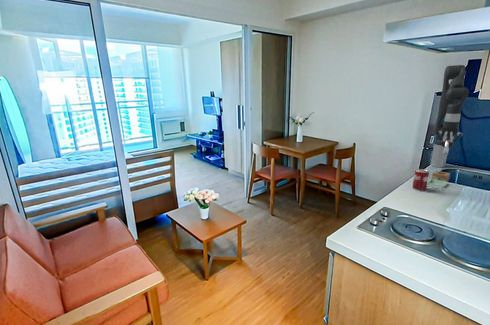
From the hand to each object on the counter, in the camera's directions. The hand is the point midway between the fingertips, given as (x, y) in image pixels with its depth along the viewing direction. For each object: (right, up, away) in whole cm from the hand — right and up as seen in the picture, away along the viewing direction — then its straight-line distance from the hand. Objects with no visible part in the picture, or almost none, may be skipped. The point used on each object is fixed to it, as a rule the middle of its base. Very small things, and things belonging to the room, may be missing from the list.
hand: (446, 147), depth 166 cm
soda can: (-22, -27, -6) cm, 35 cm away
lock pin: (0, -4, +1) cm, 5 cm away
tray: (-8, -25, -2) cm, 26 cm away
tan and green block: (0, -22, +6) cm, 23 cm away
